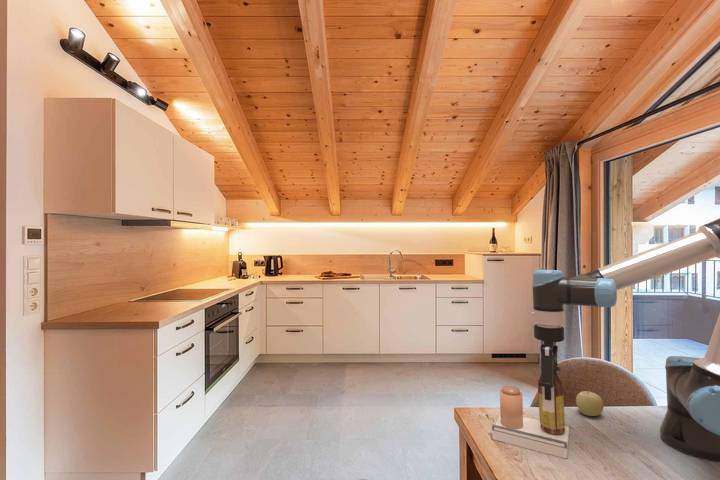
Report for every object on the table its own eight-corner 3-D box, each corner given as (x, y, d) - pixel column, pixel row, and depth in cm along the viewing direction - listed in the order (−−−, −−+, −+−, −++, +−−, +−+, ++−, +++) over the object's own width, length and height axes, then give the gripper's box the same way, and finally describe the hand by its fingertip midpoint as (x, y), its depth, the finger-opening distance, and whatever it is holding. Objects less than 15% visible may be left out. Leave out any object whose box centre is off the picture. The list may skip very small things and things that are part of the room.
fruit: (606, 421, 108) (605, 395, 108) (578, 417, 111) (577, 391, 111) (600, 411, 115) (599, 386, 115) (574, 407, 118) (573, 383, 118)
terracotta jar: (524, 422, 103) (523, 387, 104) (521, 431, 98) (520, 394, 98) (502, 417, 106) (501, 383, 107) (498, 425, 101) (497, 390, 102)
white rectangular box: (569, 435, 100) (568, 422, 100) (567, 459, 89) (566, 444, 89) (501, 420, 110) (501, 408, 110) (492, 439, 99) (492, 425, 99)
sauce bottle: (560, 425, 101) (559, 355, 101) (569, 437, 95) (567, 362, 95) (535, 423, 102) (534, 354, 102) (542, 434, 96) (541, 361, 96)
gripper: (538, 316, 112) (540, 384, 111) (527, 332, 91) (530, 416, 90) (566, 318, 108) (568, 389, 107) (561, 336, 87) (563, 423, 86)
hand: (550, 402), depth 99 cm, fingers open, 13 cm apart
